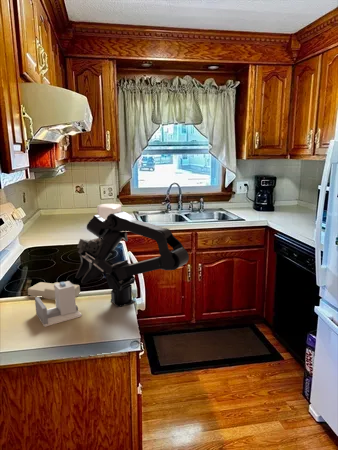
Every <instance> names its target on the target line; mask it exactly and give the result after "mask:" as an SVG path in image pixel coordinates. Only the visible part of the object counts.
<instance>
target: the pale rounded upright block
mask: <svg viewBox="0 0 338 450" xmlns="http://www.w3.org/2000/svg"><path fill="white" fill-rule="evenodd" d="M96 208H97V209H96V211H97V214H96V215H99V216H100V217H101V218H103V219H104V220H106V219H107V217H108V215H109V214H113V213H117V212H121V211H122V204H119V203H101V204H98V205H97V206H96ZM121 232H123V231H121Z"/></svg>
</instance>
